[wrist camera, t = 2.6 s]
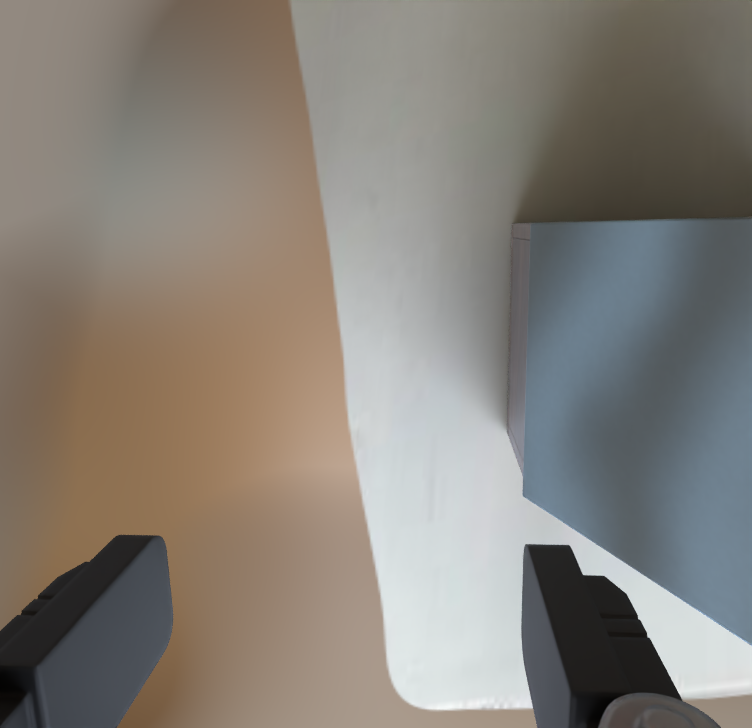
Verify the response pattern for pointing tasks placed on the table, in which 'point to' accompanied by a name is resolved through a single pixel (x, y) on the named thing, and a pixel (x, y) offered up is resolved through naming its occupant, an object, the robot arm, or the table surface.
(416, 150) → the table surface
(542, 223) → the window lid
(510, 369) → the cold frame
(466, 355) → the table surface
